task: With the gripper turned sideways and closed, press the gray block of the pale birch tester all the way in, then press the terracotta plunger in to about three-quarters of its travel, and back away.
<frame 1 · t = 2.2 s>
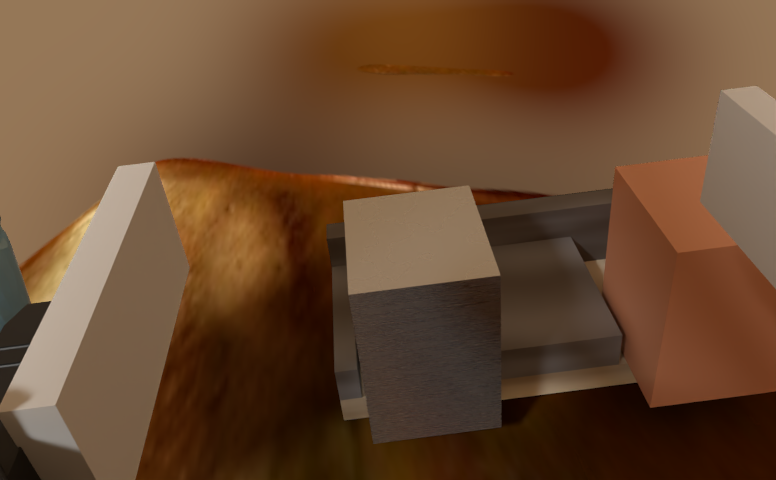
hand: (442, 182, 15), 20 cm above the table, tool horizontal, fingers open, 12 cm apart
terracotta plunger: (695, 278, 33), point 6 cm above the table, slide at 0.0 cm
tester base: (531, 327, 40), on the table
gray block: (421, 313, 33), point 6 cm above the table, slide at 0.0 cm
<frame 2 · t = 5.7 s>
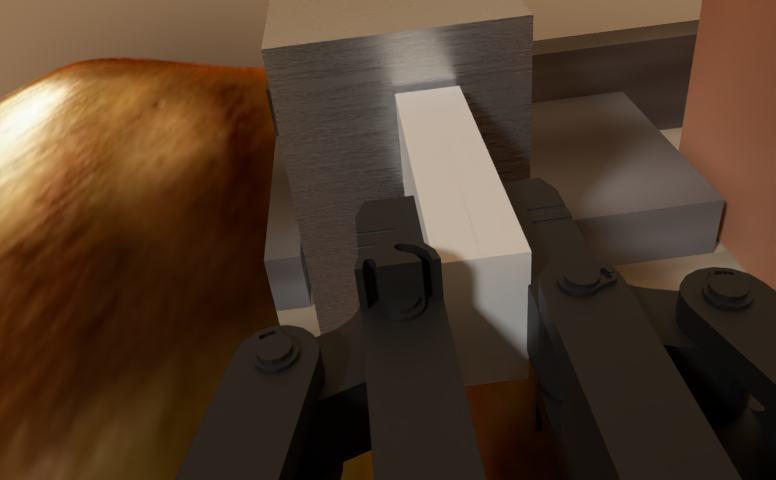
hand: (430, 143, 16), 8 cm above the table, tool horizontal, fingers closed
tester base: (568, 220, 27), on the table
gray block: (399, 143, 21), point 6 cm above the table, slide at 0.9 cm, touching gripper
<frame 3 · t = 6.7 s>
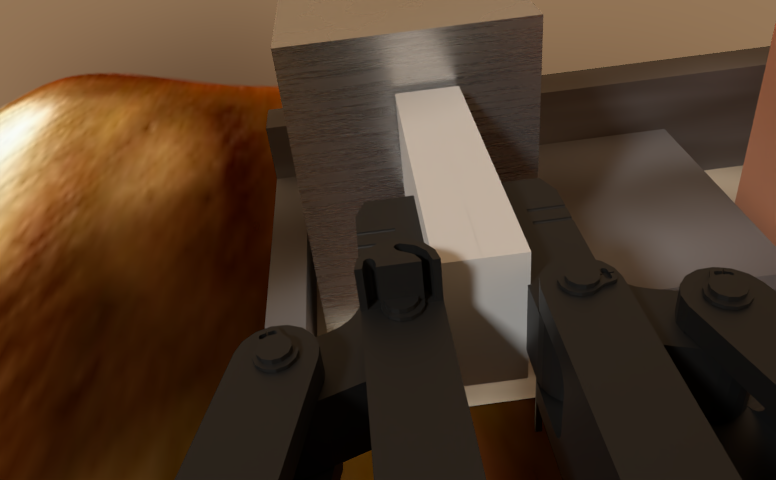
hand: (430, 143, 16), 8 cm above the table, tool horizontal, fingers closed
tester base: (605, 274, 24), on the table
gray block: (406, 142, 21), point 6 cm above the table, slide at 4.5 cm, touching gripper, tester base
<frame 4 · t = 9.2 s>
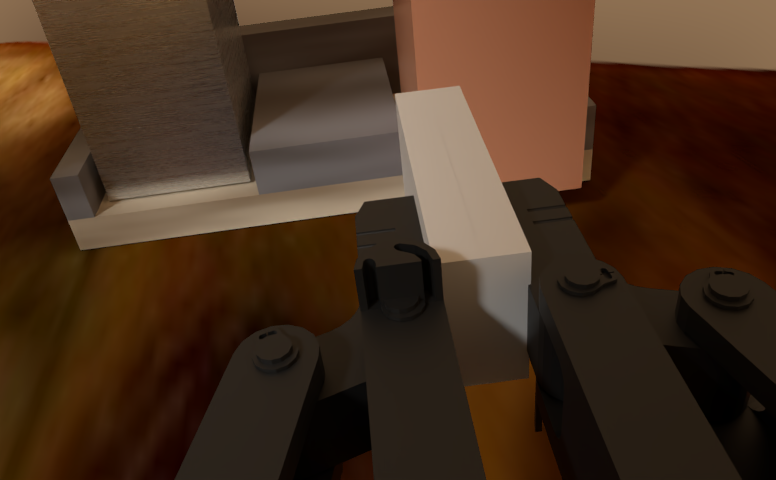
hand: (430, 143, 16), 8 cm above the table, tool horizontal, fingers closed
terracotta plunger: (482, 53, 27), point 6 cm above the table, slide at 0.0 cm
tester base: (333, 159, 34), on the table
gray block: (163, 60, 30), point 6 cm above the table, slide at 4.1 cm
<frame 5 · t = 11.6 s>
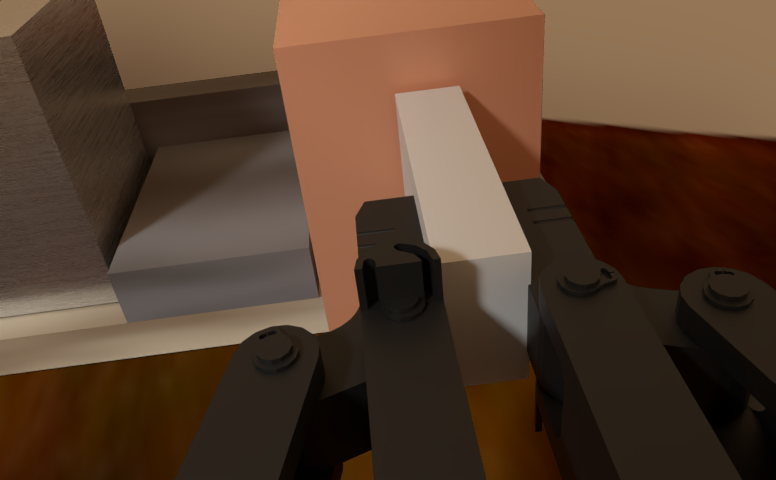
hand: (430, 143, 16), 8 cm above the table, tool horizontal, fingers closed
terracotta plunger: (408, 143, 21), point 6 cm above the table, slide at 0.5 cm, touching gripper
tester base: (246, 256, 27), on the table
gray block: (13, 144, 23), point 6 cm above the table, slide at 4.1 cm
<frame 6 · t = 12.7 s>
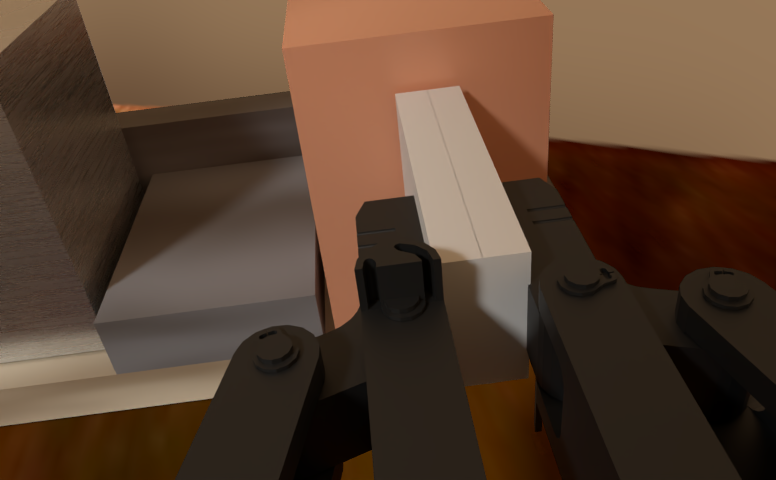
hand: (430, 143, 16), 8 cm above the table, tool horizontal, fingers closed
terracotta plunger: (414, 143, 21), point 6 cm above the table, slide at 2.8 cm, touching gripper
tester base: (246, 293, 25), on the table
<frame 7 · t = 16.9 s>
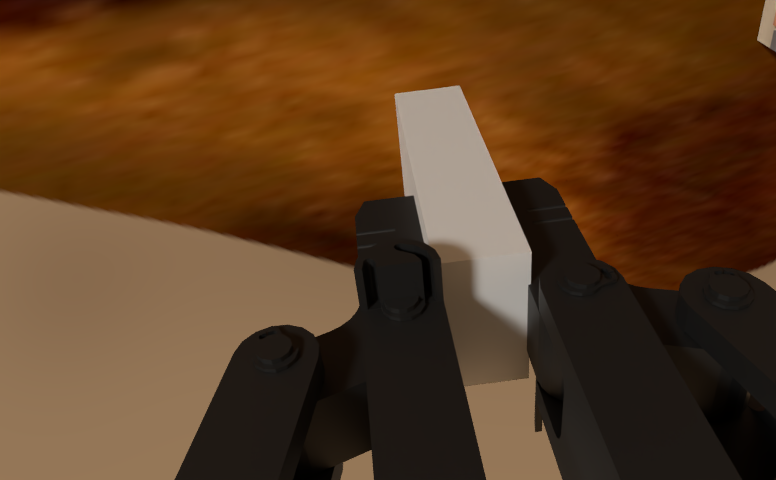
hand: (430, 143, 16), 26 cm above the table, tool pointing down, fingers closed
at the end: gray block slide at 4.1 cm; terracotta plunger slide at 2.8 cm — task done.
